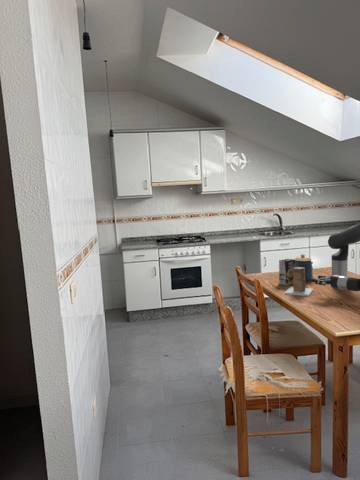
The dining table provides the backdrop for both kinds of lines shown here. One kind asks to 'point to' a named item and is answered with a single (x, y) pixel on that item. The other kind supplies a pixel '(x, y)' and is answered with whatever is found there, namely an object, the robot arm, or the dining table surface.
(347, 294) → the dining table surface
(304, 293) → the pale pad
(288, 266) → the coffee box
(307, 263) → the canister
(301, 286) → the walnut block
